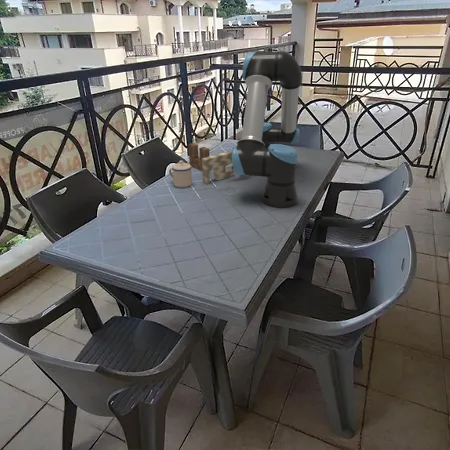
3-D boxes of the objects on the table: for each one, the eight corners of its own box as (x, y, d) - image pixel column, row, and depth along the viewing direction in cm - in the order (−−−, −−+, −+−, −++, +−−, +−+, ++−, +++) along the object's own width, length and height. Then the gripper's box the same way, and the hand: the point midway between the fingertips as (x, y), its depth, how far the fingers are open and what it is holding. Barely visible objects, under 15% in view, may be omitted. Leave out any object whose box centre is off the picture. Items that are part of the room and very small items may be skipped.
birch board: (229, 173, 178) (229, 151, 172) (233, 175, 176) (233, 152, 170) (203, 182, 168) (202, 158, 163) (206, 184, 166) (206, 159, 161)
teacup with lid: (196, 182, 168) (194, 159, 162) (185, 189, 161) (183, 165, 155) (175, 178, 173) (173, 156, 167) (164, 184, 166) (162, 161, 160)
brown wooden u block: (209, 171, 182) (209, 148, 176) (205, 172, 180) (204, 149, 175) (194, 164, 191) (192, 143, 186) (189, 165, 190) (188, 144, 184)
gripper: (266, 169, 176) (234, 179, 163) (235, 158, 191) (203, 167, 179) (267, 154, 172) (234, 164, 160) (235, 144, 188) (203, 153, 175)
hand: (218, 166), depth 169 cm, fingers open, 11 cm apart
